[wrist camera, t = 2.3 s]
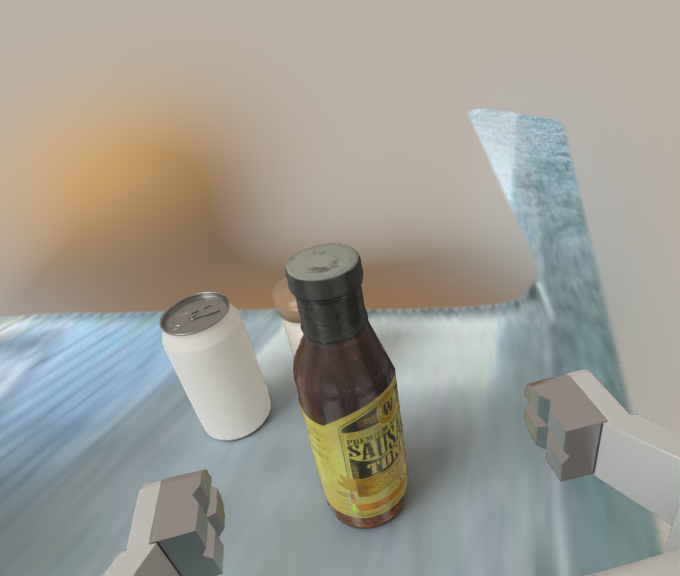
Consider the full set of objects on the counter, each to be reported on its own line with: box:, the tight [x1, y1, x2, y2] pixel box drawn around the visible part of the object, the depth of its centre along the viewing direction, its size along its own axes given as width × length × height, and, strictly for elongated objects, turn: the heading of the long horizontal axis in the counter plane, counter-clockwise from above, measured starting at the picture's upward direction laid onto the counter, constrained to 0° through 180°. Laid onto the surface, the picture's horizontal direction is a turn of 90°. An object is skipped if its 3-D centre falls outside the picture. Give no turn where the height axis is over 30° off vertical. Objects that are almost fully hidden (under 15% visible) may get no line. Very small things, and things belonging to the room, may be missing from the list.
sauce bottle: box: [286, 243, 408, 529], centre depth 30 cm, size 7×6×20 cm
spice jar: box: [272, 277, 304, 357], centre depth 44 cm, size 6×6×11 cm
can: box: [160, 292, 271, 441], centre depth 41 cm, size 6×6×12 cm
